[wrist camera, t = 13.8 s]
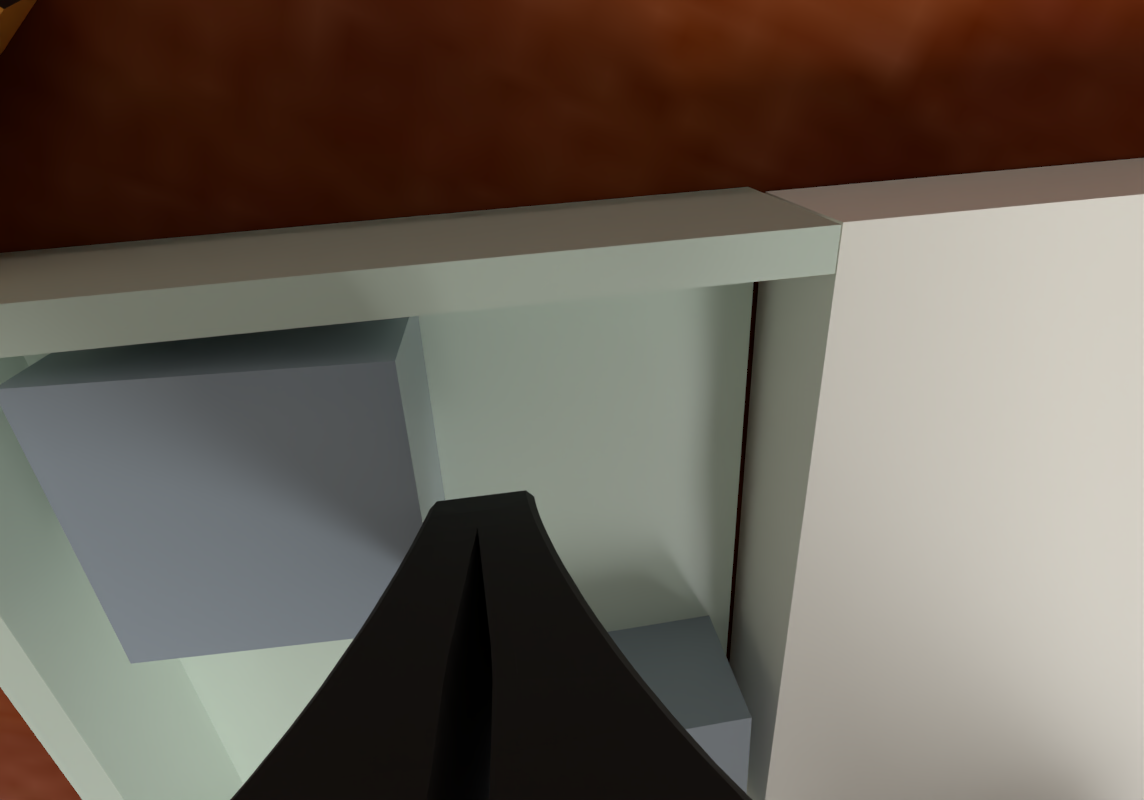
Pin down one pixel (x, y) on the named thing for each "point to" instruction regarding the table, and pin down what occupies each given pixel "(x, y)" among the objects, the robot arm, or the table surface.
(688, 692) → the squat square grey block
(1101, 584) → the board
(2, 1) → the pan flute
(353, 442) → the tile outer
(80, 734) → the box
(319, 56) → the table surface
